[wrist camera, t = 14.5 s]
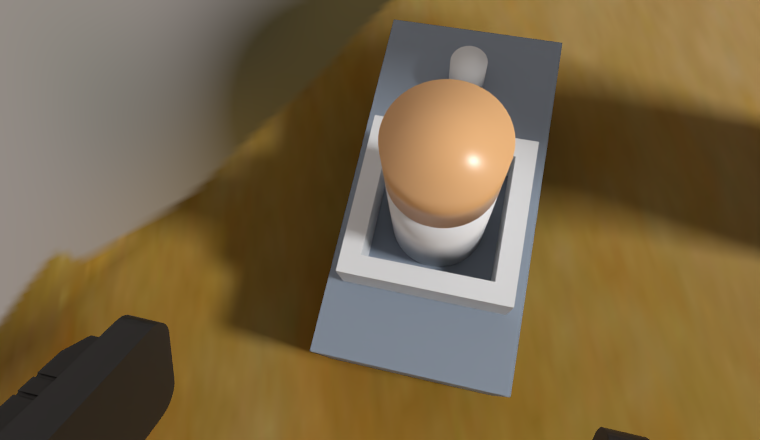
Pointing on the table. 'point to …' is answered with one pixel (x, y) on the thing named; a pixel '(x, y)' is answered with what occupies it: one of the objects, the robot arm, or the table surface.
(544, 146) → the grey box
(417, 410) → the table surface
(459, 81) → the capped container
